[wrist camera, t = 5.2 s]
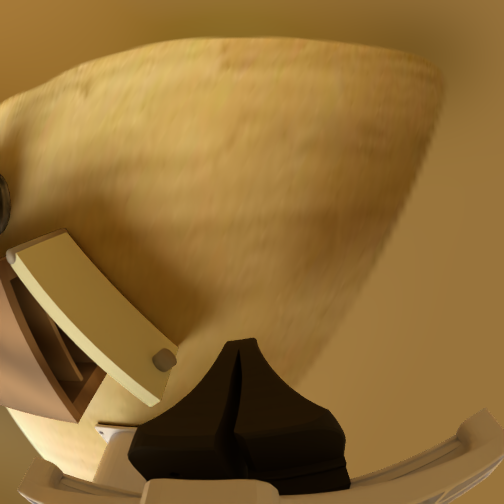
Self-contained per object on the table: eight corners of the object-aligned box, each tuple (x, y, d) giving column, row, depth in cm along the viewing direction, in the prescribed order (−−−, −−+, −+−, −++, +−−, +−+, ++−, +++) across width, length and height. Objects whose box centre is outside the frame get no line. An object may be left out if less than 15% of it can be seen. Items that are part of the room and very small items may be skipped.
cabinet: (109, 369, 18) (77, 423, 12) (29, 367, 19) (-2, 404, 13) (56, 236, 16) (-5, 263, 9) (-15, 264, 16) (-60, 287, 10)
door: (187, 339, 18) (169, 396, 12) (170, 352, 18) (150, 408, 12) (69, 216, 15) (14, 234, 10) (57, 234, 15) (4, 257, 10)
